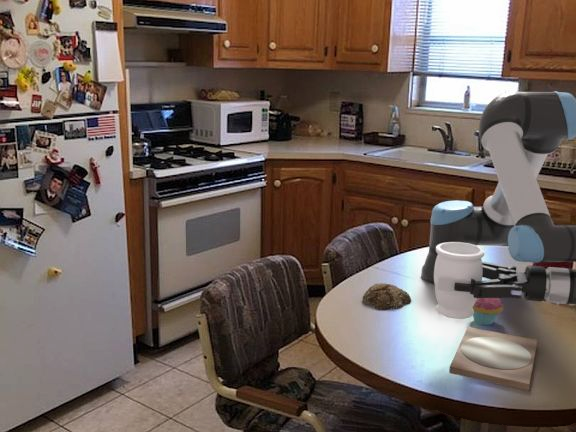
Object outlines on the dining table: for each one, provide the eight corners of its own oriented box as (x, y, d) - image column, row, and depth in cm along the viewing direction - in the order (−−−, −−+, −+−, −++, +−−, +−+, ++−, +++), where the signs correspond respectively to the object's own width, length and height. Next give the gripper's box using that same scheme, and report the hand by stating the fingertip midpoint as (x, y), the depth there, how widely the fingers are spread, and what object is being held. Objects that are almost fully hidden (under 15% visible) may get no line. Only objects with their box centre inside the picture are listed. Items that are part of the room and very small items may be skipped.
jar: (480, 323, 132) (486, 257, 129) (431, 319, 135) (435, 253, 131) (476, 305, 142) (482, 243, 139) (431, 300, 145) (435, 239, 141)
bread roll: (377, 289, 179) (378, 273, 177) (416, 301, 171) (417, 284, 170) (353, 303, 169) (353, 286, 168) (392, 315, 161) (393, 297, 160)
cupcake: (465, 324, 156) (469, 280, 152) (467, 312, 163) (471, 269, 160) (501, 330, 153) (506, 284, 150) (502, 316, 160) (506, 273, 157)
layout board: (467, 332, 151) (467, 326, 151) (536, 345, 145) (537, 339, 144) (449, 372, 132) (449, 365, 132) (528, 390, 126) (529, 383, 125)
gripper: (550, 322, 122) (436, 310, 128) (536, 282, 144) (438, 273, 149) (555, 286, 120) (438, 276, 126) (539, 251, 142) (441, 243, 147)
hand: (438, 274), depth 137 cm, fingers closed on jar, 10 cm apart
